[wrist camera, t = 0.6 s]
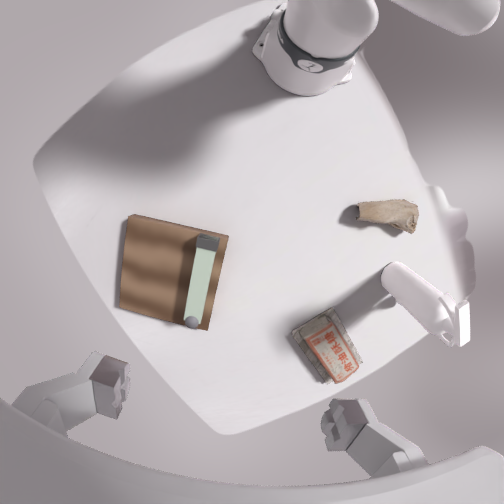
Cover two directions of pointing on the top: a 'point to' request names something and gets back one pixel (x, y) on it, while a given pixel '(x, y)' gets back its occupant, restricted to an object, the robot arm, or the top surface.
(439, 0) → the robot arm
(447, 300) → the fire extinguisher
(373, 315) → the top surface
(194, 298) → the hinged leg
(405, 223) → the bone fragment
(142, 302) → the stool seat
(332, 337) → the packaged product
